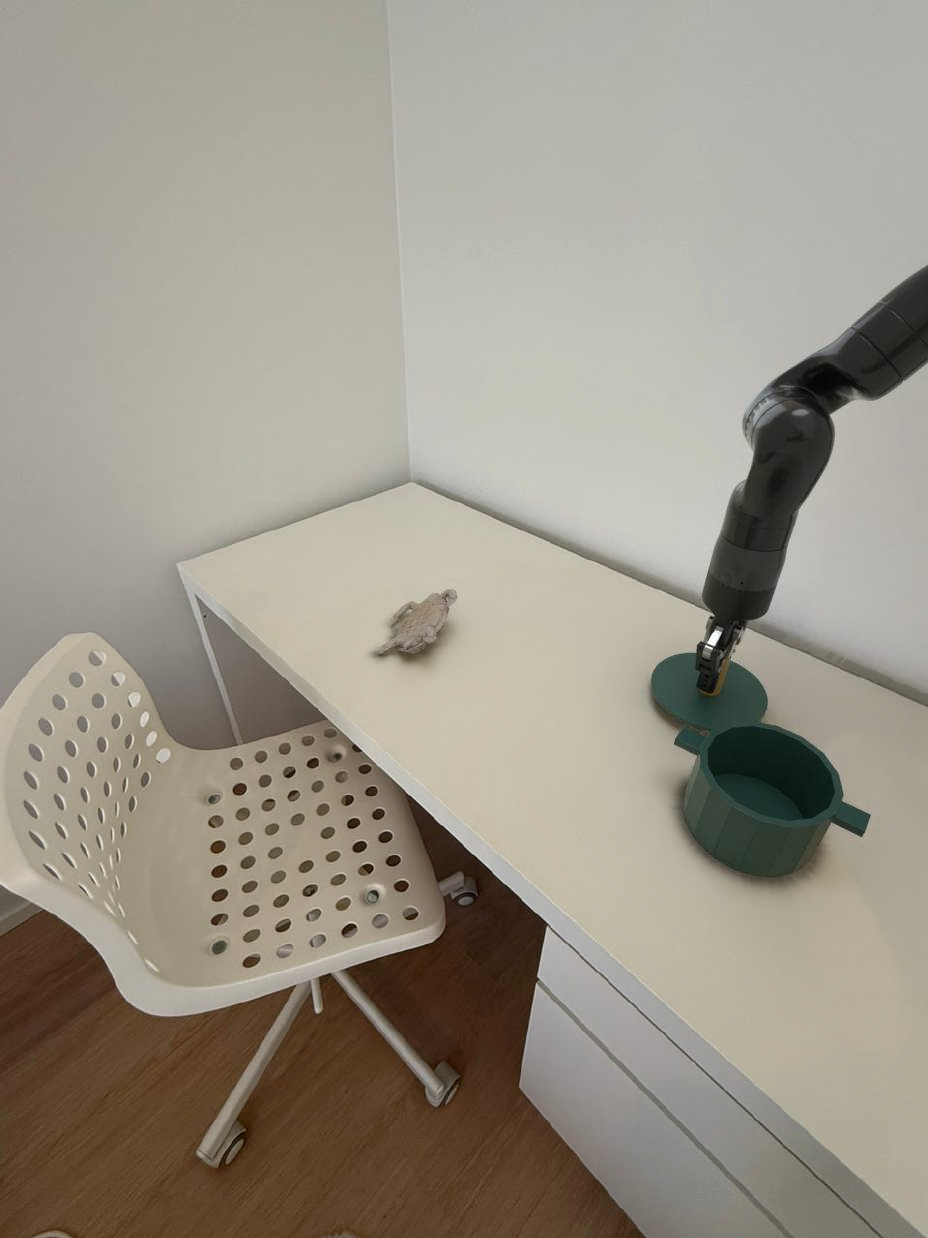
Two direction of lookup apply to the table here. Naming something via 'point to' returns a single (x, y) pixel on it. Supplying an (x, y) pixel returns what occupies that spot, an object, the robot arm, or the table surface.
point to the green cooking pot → (762, 797)
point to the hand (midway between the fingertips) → (710, 681)
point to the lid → (728, 703)
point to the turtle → (421, 622)
